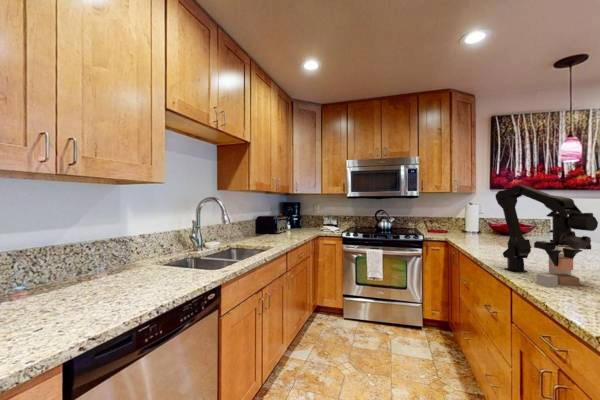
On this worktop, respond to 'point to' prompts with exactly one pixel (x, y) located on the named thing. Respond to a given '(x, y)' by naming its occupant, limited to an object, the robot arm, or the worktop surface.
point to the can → (554, 270)
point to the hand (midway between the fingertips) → (562, 266)
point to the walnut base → (567, 279)
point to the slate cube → (547, 280)
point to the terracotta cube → (564, 264)
